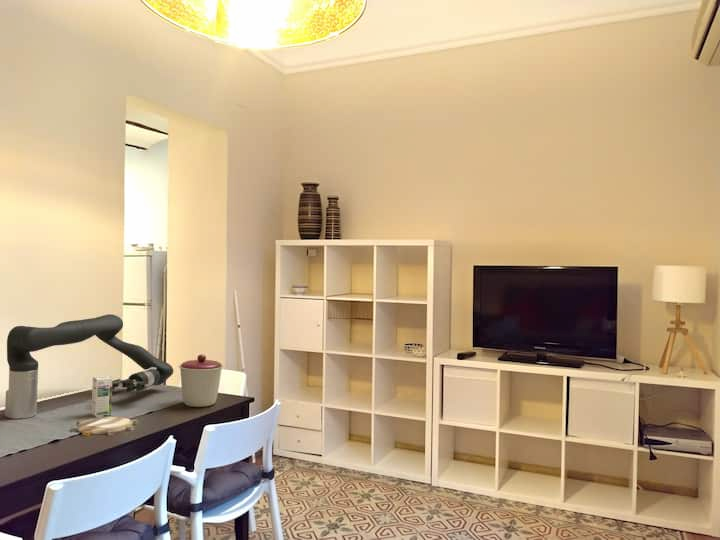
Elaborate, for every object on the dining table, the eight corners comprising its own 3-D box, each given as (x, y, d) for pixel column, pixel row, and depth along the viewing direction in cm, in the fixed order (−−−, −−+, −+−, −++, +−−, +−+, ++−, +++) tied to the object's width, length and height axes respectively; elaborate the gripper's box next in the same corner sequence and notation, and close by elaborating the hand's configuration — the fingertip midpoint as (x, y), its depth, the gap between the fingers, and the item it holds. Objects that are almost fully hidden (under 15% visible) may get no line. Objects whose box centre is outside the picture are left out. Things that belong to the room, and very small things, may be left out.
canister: (174, 400, 237) (176, 351, 237) (217, 398, 245) (219, 350, 245) (180, 411, 221) (182, 358, 221) (225, 408, 229) (227, 357, 229)
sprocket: (56, 432, 188) (56, 428, 188) (97, 416, 209) (98, 412, 209) (113, 438, 184) (113, 435, 184) (149, 421, 205) (150, 418, 205)
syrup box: (95, 417, 207) (96, 378, 207) (91, 413, 212) (92, 376, 212) (111, 415, 211) (112, 377, 211) (106, 411, 216) (108, 374, 216)
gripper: (126, 370, 238) (102, 377, 222) (156, 373, 236) (134, 380, 220) (125, 388, 238) (101, 396, 222) (155, 390, 236) (133, 399, 220)
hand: (117, 388), depth 221 cm, fingers open, 8 cm apart
